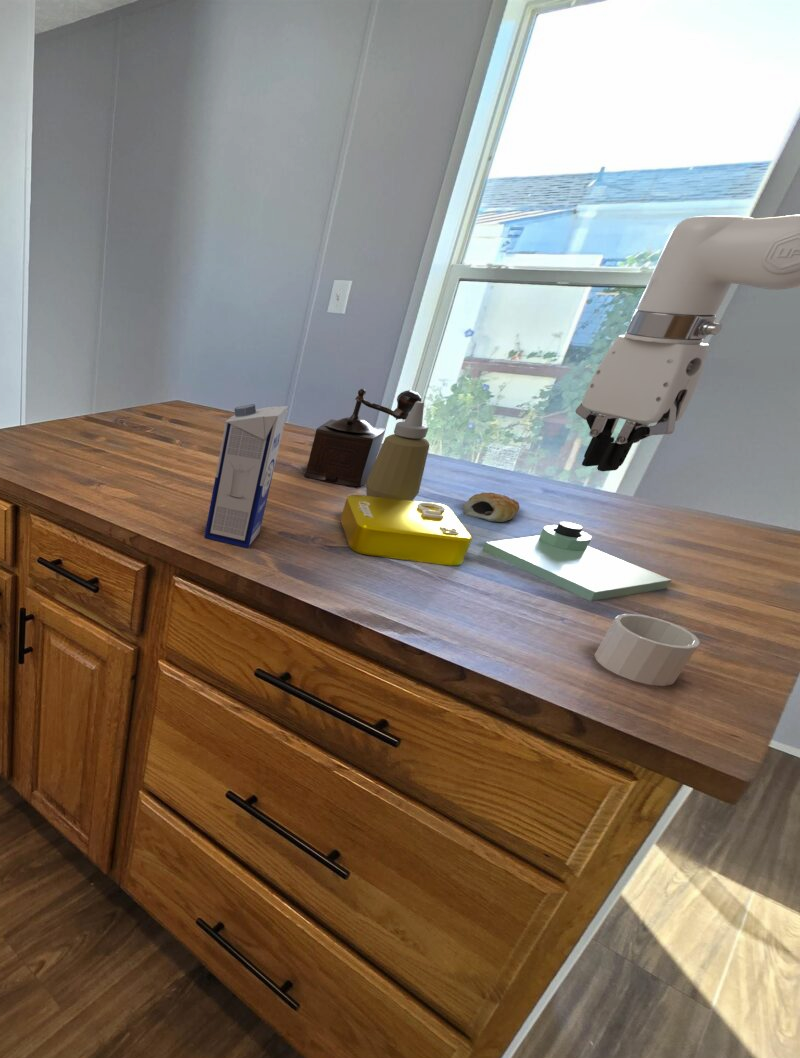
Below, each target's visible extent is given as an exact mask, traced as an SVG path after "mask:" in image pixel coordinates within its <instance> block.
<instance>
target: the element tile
mask: <svg viewBox="0 0 800 1058" xmlns="http://www.w3.org/2000/svg"><path fill="white" fill-rule="evenodd" d="M344 502H345V503H344V505H343V508H342V512H341V516H340V522H341V526H342V529H343V531H344V535H345V537H346V541H347V543H348V546H349V548H350V549H351V550H352V551H353V552H354V553H357V554H361V555H365V556H371V557H377V558H378V557H379V558H380V557H381V558H387V559H394V560H401V561H409V562H418V563H425V564H431V565H432V564H433V565H440V566H447V567H457V566H460V565H462V564H463V562H464V560H465V557H466V556H467V552H468V550H469V548H470V545H471V543H472V541H473V537H472V535H471V533H470V532H469V531H468V530H467V529H466V527H465V526H464V525H463V523H462V522H461V521H460V520H459V517H457V516H456V514H455V513H454V511H453V510H452V509H451V508H450V507H449V506H447V505H445V504H443V503H436V502H426V501H418V500H413V501H410V500H400V499H391V498H382V497H373V496H367V495H362V494H350V495H348V496H347V497H346V499H345V501H344Z"/></svg>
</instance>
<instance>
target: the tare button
mask: <svg viewBox="0 0 800 1058" xmlns="http://www.w3.org/2000/svg"><path fill="white" fill-rule="evenodd" d="M583 529H584V528H583V526H582V525H581V524H577V523H575V522H571V521H560V522H559V523H558V527H557V529H556V531H555V532H556V533H558V534H561V535H564V536H568V537H576V538H577V537H579V535H580V533H581V531H583Z"/></svg>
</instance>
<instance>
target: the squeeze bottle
mask: <svg viewBox="0 0 800 1058" xmlns="http://www.w3.org/2000/svg"><path fill="white" fill-rule="evenodd" d="M424 408H425V401H421V402H419V401H417V402H415V404H414V406H413V408H412V409H411V411H410V412H409V414H408V416H407V418H406V419H405V420H403V421H397V422H396V423H395V427H394V429H393V433H392V434H390V435H388V436H385V438H384V439H383V441H382V442H383V443H382V445H381V446H380V448H379V451H378V454H377V458H376V461H375V463H374V466H373V468H372V470H371V473H370V475H369V477H368V480H367V482H366V483H365V488H366V490H365V491H366V496H373V497H382V498H391V499H400V500H410V501H414V500H415V499H416V497H417V496H418V495H419V493H420V488H421V485H422V480H423V476H424V471H425V467H426V463H427V458H428V453H429V450H430V442H429V441H428V440H427V439H426V437H427V434H428V431H429V426H428V425H427V424H424V423H423V422H424V421H423V420H424V410H425V409H424Z"/></svg>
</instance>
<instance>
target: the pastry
mask: <svg viewBox="0 0 800 1058" xmlns="http://www.w3.org/2000/svg"><path fill="white" fill-rule="evenodd" d="M461 508H462V510H463V514H464V515H466V516H470V517H472V518H475V519H482V520H485V521H487V522H495V523H505V522H507V521H511V520H512V519H513V518H514V517H515V516H516V514H517V513H518V512H519V510H520V503H519V502H518V500H515V499H514V498H510V496H508V495H505V494H501V493H496V492H480V493H476V494H474V495H472V496H471V497H469V498H468V500H467V502H465V503H464V504H462V506H461Z"/></svg>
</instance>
